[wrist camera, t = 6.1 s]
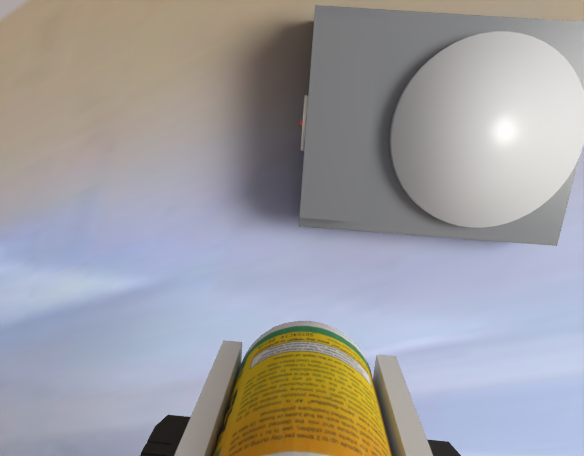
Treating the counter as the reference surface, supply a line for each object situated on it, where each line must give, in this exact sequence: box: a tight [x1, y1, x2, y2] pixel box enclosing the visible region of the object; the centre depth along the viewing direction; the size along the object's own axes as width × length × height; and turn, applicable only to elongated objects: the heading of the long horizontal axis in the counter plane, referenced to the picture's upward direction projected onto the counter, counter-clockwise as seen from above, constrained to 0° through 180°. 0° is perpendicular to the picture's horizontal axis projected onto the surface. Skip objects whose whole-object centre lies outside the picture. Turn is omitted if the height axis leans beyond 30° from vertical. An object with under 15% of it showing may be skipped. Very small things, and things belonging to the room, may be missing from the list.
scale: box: [299, 5, 584, 246], centre depth 25 cm, size 18×14×5 cm
